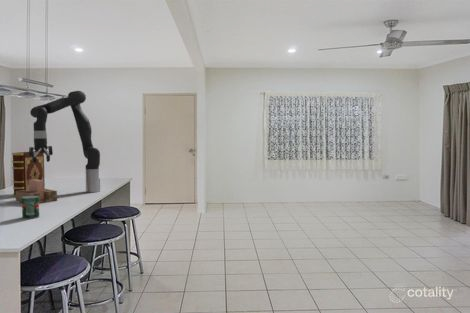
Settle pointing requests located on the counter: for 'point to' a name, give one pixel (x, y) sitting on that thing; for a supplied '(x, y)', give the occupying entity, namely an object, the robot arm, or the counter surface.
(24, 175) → the decorative book
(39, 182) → the pink rectangular block
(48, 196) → the book stand
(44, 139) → the robot arm
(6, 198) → the counter surface
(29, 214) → the canned tomato
